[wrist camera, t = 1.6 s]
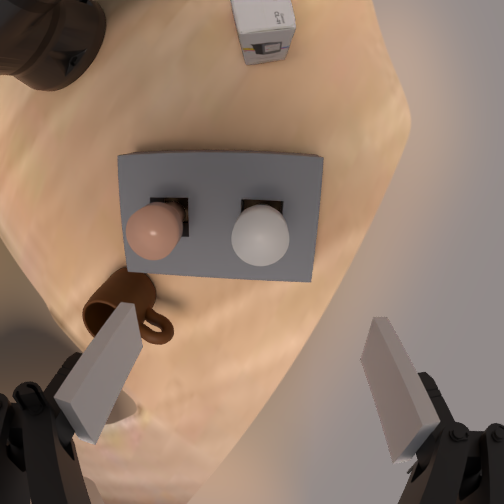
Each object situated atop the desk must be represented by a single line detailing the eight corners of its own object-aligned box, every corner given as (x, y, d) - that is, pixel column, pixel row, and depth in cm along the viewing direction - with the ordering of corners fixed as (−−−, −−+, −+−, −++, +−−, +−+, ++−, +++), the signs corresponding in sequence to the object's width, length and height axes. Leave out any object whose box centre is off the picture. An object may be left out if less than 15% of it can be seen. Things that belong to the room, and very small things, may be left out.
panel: (135, 152, 34) (117, 155, 29) (315, 154, 33) (323, 157, 29) (142, 255, 39) (127, 271, 35) (305, 264, 39) (310, 282, 34)
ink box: (232, 7, 27) (218, -39, 16) (274, 1, 26) (276, -47, 15) (245, 67, 30) (235, 36, 19) (288, 61, 29) (298, 27, 18)
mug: (190, 284, 40) (172, 324, 32) (181, 326, 43) (164, 368, 35) (113, 258, 40) (80, 290, 31) (110, 301, 42) (82, 336, 34)
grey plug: (239, 193, 32) (231, 210, 25) (285, 195, 32) (291, 213, 25) (238, 237, 34) (231, 264, 27) (282, 239, 34) (287, 267, 27)
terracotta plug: (151, 192, 32) (123, 208, 25) (193, 192, 32) (174, 208, 25) (154, 233, 34) (128, 258, 27) (194, 235, 34) (177, 261, 27)
